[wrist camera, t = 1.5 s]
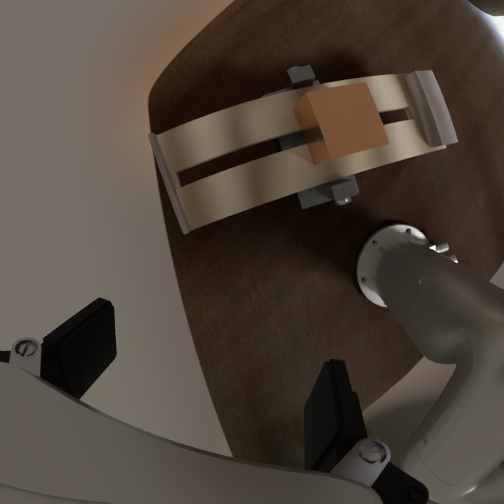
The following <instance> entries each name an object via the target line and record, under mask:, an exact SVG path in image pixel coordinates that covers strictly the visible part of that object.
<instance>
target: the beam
mask: <svg viewBox="0 0 504 504" xmlns="http://www.w3.org/2000/svg"><path fill="white" fill-rule="evenodd" d="M362 82H366V83H367V85H368V88H369V90H370V92H371V95H372V97H373V100H374V102H375V105H376V107H377V110H378V112H379V113H380V112H386V111H392V110H398V109H404V108H405V111H406V114H407V117H408V119H409V120H406V121H401V122H396V123H391V124H386V125H383V126H384V129H385V131H386V134H387V137H388V140H389V143H390V144H388V145H384V146H380V147H376V148H372V149H369V150H365V151H361V152H358V153H354V154H350V155H347V156H343V157H340V158H336V159H333V160H329V161H326V162H323V163H319V164H316V165H314V163H313V160H312V157H311V154H310V152H309V149H308V146H307V144H305V145H302V146H298V147H295V148H291V149H288V150H285V151H282V152H278V153H275V154H272V155H269V156H266V157H263V158H260V159H257V160H254V161H251V162H248V163H245V164H242V165H239V166H236V167H233V168H231V169H228V170H225V171H222V172H220V173H217V174H214V175H211V176H209V177H206V178H204V179H201V180H198V181H196V182H193V183H191V184H188V185H186V186H183V187H182V184H181V182H180V179H179V176H178V173H179V172H181V171H184V170H186V169H189V168H191V167H194V166H196V165H199V164H201V163H204V162H207V161H209V160H212V159H215V158H217V157H220V156H223V155H226V154H228V153H231V152H234V151H237V150H240V149H243V148H246V147H249V146H252V145H255V144H258V143H261V142H264V141H268V140H271V139H274V138H277V137H281V136H284V135H288V134H291V133H295V132H298V131H302V130H301V127H300V125H299V122H298V120H297V117H296V114H295V112H294V107H295V106H296V105H297V103H298V102H299V101H300V100H301V98H302V97H303V96H304V94H305V93H306V92H311V91H316V90H321V89H326V88H331V87H337V86H342V85H349V84H355V83H362ZM148 136H149V140H150V143H151V146H152V149H153V152H154V155H155V158H156V161H157V164H158V166H159V169H160V172H161V175H162V178H163V181H164V184H165V186H166V189H167V192H168V195H169V197H170V200H171V203H172V206H173V208H174V211H175V214H176V216H177V219H178V221H179V224H180V227H181V229H182V232H183V234H187V233H189V232H190V231H191V230H194V229H196V228H199V227H201V226H204V225H207V224H209V223H212V222H215V221H217V220H220V219H223V218H225V217H228V216H231V215H234V214H236V213H239V212H242V211H245V210H247V209H250V208H253V207H256V206H259V205H261V204H264V203H267V202H270V201H273V200H276V199H279V198H282V197H284V196H287V195H290V194H293V193H296V192H299V191H302V190H305V189H308V188H311V187H314V186H317V185H321V184H324V183H327V182H330V181H333V180H336V179H339V178H342V177H346V176H349V175H352V174H355V173H359V172H362V171H365V170H369V169H372V168H375V167H379V166H382V165H385V164H389V163H392V162H396V161H399V160H403V159H406V158H410V157H414V156H417V155H421V154H425V153H428V152H432V151H436V150H440V149H444V148H446V145H448V144H452V143H456V142H458V140H457V137H456V134H455V130H454V127H453V124H452V121H451V118H450V115H449V112H448V109H447V106H446V104H445V101H444V98H443V96H442V93H441V91H440V88H439V86H438V83H437V81H436V79H435V76H434V74H433V72H432V71H414V72H413V73H406V74H392V75H380V76H371V77H363V78H355V79H348V80H342V81H335V82H330V83H324V84H319V85H314V86H309V87H304V88H299V89H295V90H291V91H287V92H282V93H278V94H274V95H271V96H267V97H263V98H260V99H256V100H253V101H249V102H246V103H243V104H239V105H236V106H233V107H230V108H227V109H224V110H221V111H218V112H215V113H212V114H209V115H207V116H204V117H201V118H198V119H196V120H193V121H191V122H188V123H185V124H183V125H180V126H178V127H175V128H173V129H171V130H168V131H166V132H164V133H161V134H159V135H156V134H154V133H150V134H148Z"/></svg>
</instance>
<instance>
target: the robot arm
mask: <svg viewBox="0 0 504 504" xmlns="http://www.w3.org/2000/svg"><path fill="white" fill-rule="evenodd" d="M406 229H407V231H406ZM373 240H374V243H372V241H373ZM448 249H449V247H448V244H447V242H443V243H440V244H438V245H436V246H434V245H432V244H430V243H429V242H428V240H427V238H426V237H425V236H424V234H423V233H422V232H420V231H419V230H418V229H416V228H414V227H412V226H410V225H407V224H401V223H397V224H390V225H387V226H384V227H382V228H381V229H379V230H377V231H376V232H375V233H373V234H372V235H371V236H370V237H369V238H368V240H367V241H366V242H365V244H364V245H363V247H362V249H361V251H360V254H359V256H358V260H357V265H356V275H357V281H358V284H359V286H360V289H361V290H362V292H363V293H364V295H365V296H366V297H367V298H368V299H369V300H370V301H371V302H373V303H374V304H376V305H379V306H382V307H388V309H389V310H390V311H391V313H392V314H393V315H394V317H395V318H396V319H397V321H398V322H399V323H400V325H401V326H402V327H403V329H404V330H405V332H406V333H407V334H408V336H409V337H410V339H411V340H412V341H413V343H414V344H415V345H416V347H417V348H418V349H419V351H420V352H421V353H422V354H423V355H424V356H425V357H426V358H427V359H429V360H431V361H433V362H435V363H439V364H447V365H449V364H456V368H455V371H454V373H453V375H452V376H451V378H450V380H449V381H448V383H447V385H446V386H445V388H444V390H443V392H442V393H441V395H440V396H439V398H438V399H437V400H436V402H435V403H434V405H433V406H432V407H431V409H430V410H429V411H428V413H427V414H426V415H425V416H424V418H423V419H422V420H421V422H420V423H419V424H418V426H417V427H416V428H415V430H414V431H413V432H412V434H411V435H410V436H409V438H408V440H407V441H406V443H405V445H404V448H403V451H402V454H401V468H402V470H401V469H399V468H397V467H396V466H395V465H393V464H392V463H390V462H389V459H390V451H389V448H388V447H387V445H386V444H385V443H383V442H382V441H380V440H378V439H375V438H368V437H367V432H366V428H365V424H364V420H363V416H362V411H361V407H360V403H359V399H358V396H357V393H356V392H352V389H351V385H350V381H349V377H348V373H347V369H346V365H345V362H344V361H343V360H337V359H330V360H329V362H328V361H326V362H325V363H324V365H323V367H322V369H321V372H320V374H319V376H318V379H317V381H316V383H315V385H314V387H313V389H312V392H311V394H310V396H309V398H308V400H307V402H306V404H305V408H304V438H305V469H298V468H290V467H283V466H276V465H269V464H264V463H258V462H253V461H247V460H242V459H237V458H233V457H228V456H224V455H220V454H216V453H212V452H208V451H205V450H200V449H197V448H194V447H191V446H187V445H184V444H181V443H177V442H174V441H172V440H169V439H166V438H163V437H160V436H158V435H155V434H152V433H149V432H147V431H144V430H142V429H139V428H137V427H134V426H132V425H130V424H127V423H125V422H123V421H120V420H118V419H116V418H114V417H112V416H110V415H108V414H105V413H103V412H101V411H99V410H97V409H95V408H93V407H91V406H90V405H88V404H86V403H84V402H82V401H80V400H79V399H80V398H81V397H82V396H83V395H84V393H85V392H86V391H87V390H88V389H89V388H90V387H91V385H92V384H93V383H94V382H95V381H96V380H97V379H98V377H99V376H100V375H101V374H102V373H103V372H104V371H105V369H106V368H107V367H108V366H109V365H110V364H111V363H112V362H113V360H114V359H115V357H116V354H117V351H116V336H115V317H114V306H113V305H112V303H111V302H110V301H108V300H105V299H103V298H98V299H96V300H95V301H93V302H92V303H90V304H89V305H88V306H86V307H85V308H83V309H82V310H81V311H79V312H78V313H76V314H75V315H74V316H72V317H71V318H70V319H68V320H67V321H66V322H64V323H63V324H61V325H60V326H59V327H57V328H56V329H55V330H53V331H52V332H51V333H49V334H48V335H47V336H45V337H44V338H43V343H42V344H40V343H39V342H38V341H37V340H36V339H33V338H22V339H19V340H18V341H16V342H15V343H14V344H13V346H12V349H11V351H0V504H430V503H429V501H428V499H430V500H432V501H434V502H437V503H440V504H504V289H502V288H500V287H498V286H496V285H494V284H492V283H490V282H489V281H487V280H485V279H483V278H482V277H480V276H478V275H477V274H475V273H473V272H472V271H470V270H468V269H467V268H465V267H463V266H462V265H460V264H458V263H457V259H456V256H455V255H454V254H453V253H451V254H449V255H447V256H444V255H442V254H441V253H443V252H445V251H448ZM363 277H364V278H363ZM362 278H363V279H362ZM434 502H433V503H432V504H435V503H434Z"/></svg>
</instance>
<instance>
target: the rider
mask: <svg viewBox="0 0 504 504" xmlns="http://www.w3.org/2000/svg"><path fill="white" fill-rule="evenodd" d="M294 112H295V114H296V117H297V120H298V122H299V125H300V127H301V130H302V133H303V135H304V138H305V141H306V143H307V146H308V149H309V152H310V154H311V157H312V160H313V163H314V165H316V164H319V163H323V162H326V161H329V160H333V159H336V158H340V157H343V156H347V155H350V154H354V153H358V152H361V151H365V150H369V149H372V148H376V147H380V146H384V145H388V144H390V143H389V140H388V137H387V134H386V131H385V129H384V126H383V123H382V120H381V118H380V115H379V112H378V110H377V107H376V105H375V102H374V100H373V97H372V95H371V92H370V90H369V88H368V85H367V83H366V82H362V83H355V84H349V85H342V86H337V87H331V88H326V89H321V90H316V91H311V92H306V93H305V94H304V96H303V97H302V98H301V100H300V101H299V102H298V103H297V105H296V106H295V107H294Z"/></svg>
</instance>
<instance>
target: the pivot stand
mask: <svg viewBox="0 0 504 504" xmlns="http://www.w3.org/2000/svg"><path fill="white" fill-rule="evenodd" d="M286 73H287V76H286V87H285V89H282V90H279V91H276V92H272V93H269V94H266V95H263V96H261V97H262V98H263V97H267V96H271V95H274V94H278V93H282V92H287V91H291V90H295V89H299V88H304V87H309V86H314V85H319V84H320V82H319V80H316V81H314V80H315V78H316V77H315V75H314V73H313V70H312V68H311V66H310V65H307V66H303V67H301V66H296V67H292V68H290V69H288V70H287V71H286ZM277 138H278V141H279V143H280V146H281V149H282V151H285V150H288V149H291V148H295V147H298V146H302V145H305V144H307V143H306V141H305V138H304V135H303V133H302V131H298V132H295V133H291V134H288V135H284V136H281V137H277ZM358 192H359V189H358V186H357V183H356V179H355V176H354V174H352V175H349V176H346V177H342V178H339V179H336V180H333V181H330V182H327V183H324V184H321V185H317V186H314V187H311V188H308V189H305V190H302V191H299V192H297V194H298V197H299V200H300V203H301V206H302V209H305V208H309V207H312V206H315V205H318V204H321V203H324V202H327V201H331V200H334V202H335V205H336V206H340V205H344V204H347V203H350V202H351V201H352V200H351V196H355V195H358Z"/></svg>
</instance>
